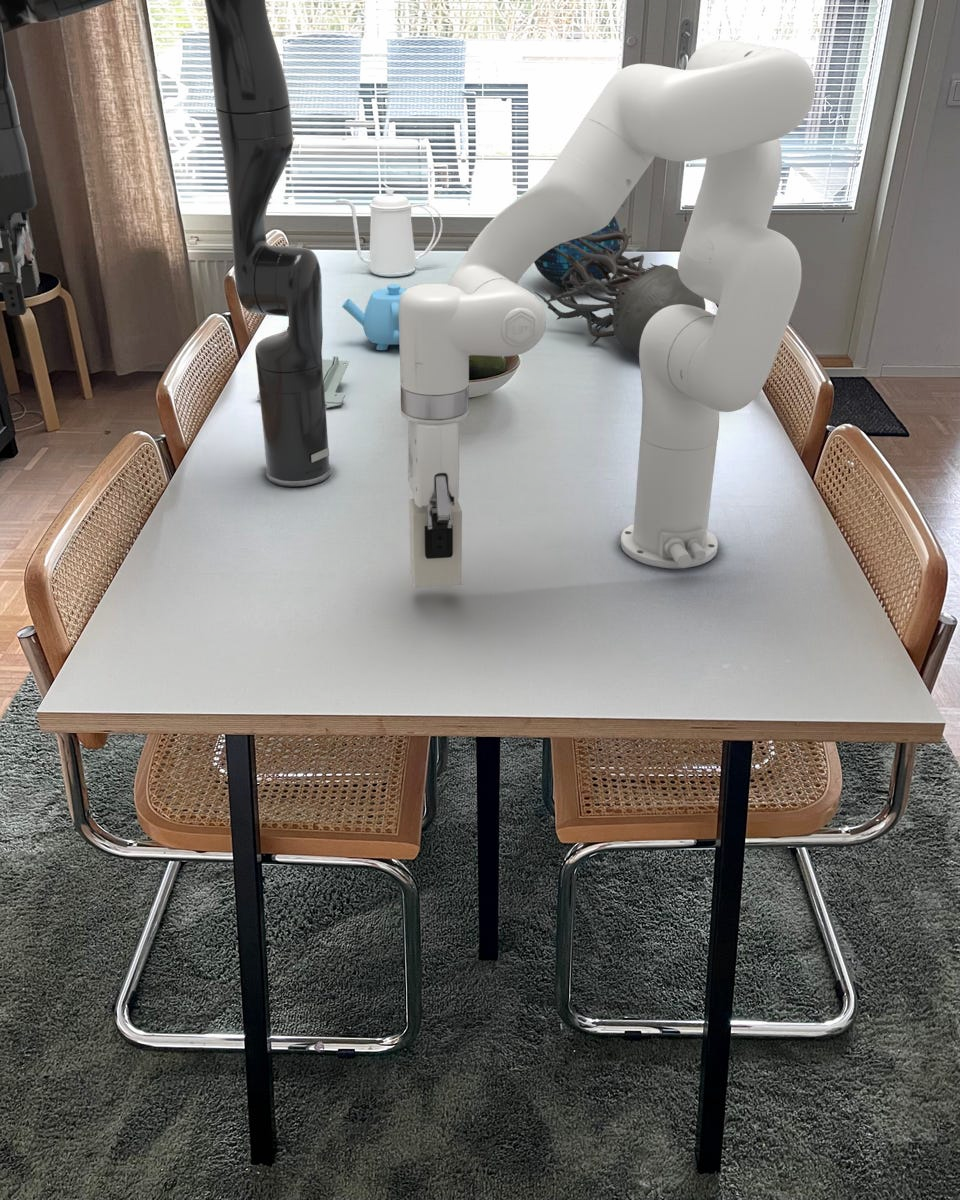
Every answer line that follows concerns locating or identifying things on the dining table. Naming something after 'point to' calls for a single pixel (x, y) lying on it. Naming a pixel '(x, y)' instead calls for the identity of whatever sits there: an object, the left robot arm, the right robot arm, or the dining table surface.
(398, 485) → the dining table surface
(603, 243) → the decorative sphere
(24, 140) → the left robot arm
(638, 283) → the sculpture
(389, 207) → the coffeepot
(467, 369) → the right robot arm
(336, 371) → the metal bracket
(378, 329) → the teapot
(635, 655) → the dining table surface
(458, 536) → the block
